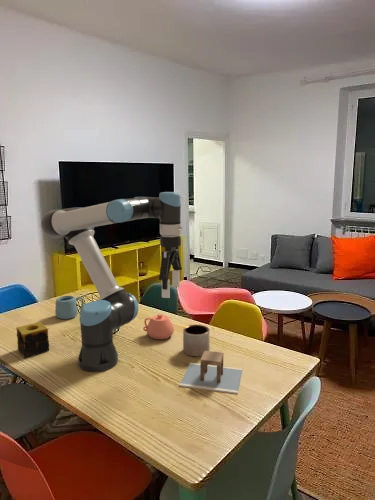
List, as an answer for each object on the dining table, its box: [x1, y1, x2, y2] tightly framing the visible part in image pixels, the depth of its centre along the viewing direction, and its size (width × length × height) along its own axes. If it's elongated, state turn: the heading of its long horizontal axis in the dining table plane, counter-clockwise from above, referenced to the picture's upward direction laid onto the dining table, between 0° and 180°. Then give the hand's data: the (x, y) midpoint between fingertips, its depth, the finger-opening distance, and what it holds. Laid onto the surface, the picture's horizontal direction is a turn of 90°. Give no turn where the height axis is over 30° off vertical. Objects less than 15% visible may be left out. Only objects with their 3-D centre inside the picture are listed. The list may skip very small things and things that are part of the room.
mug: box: [54, 295, 85, 320], centre depth 194 cm, size 15×11×10 cm
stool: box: [200, 350, 225, 383], centre depth 134 cm, size 7×7×8 cm
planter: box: [182, 324, 211, 358], centre depth 154 cm, size 11×11×10 cm
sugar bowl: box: [142, 313, 175, 340], centre depth 170 cm, size 12×14×10 cm
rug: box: [178, 362, 243, 395], centre depth 135 cm, size 20×16×1 cm
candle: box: [16, 321, 50, 359], centre depth 156 cm, size 10×10×10 cm
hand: (171, 291), depth 140 cm, fingers open, 13 cm apart
